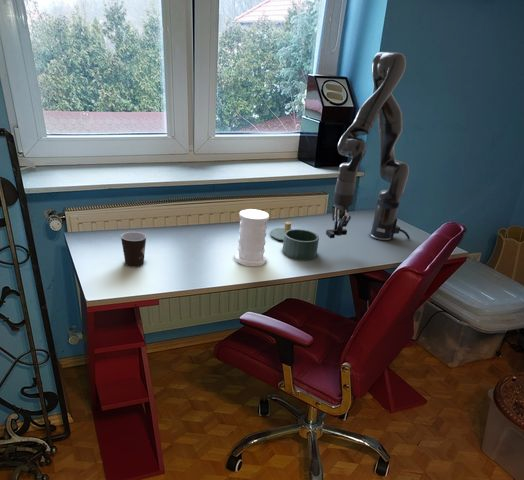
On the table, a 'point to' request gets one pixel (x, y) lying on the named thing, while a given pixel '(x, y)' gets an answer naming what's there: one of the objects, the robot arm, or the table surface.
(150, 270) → the table surface
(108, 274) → the table surface
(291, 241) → the tin
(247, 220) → the decorative container
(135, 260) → the coffee mug
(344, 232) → the hex key
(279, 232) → the tin lid
